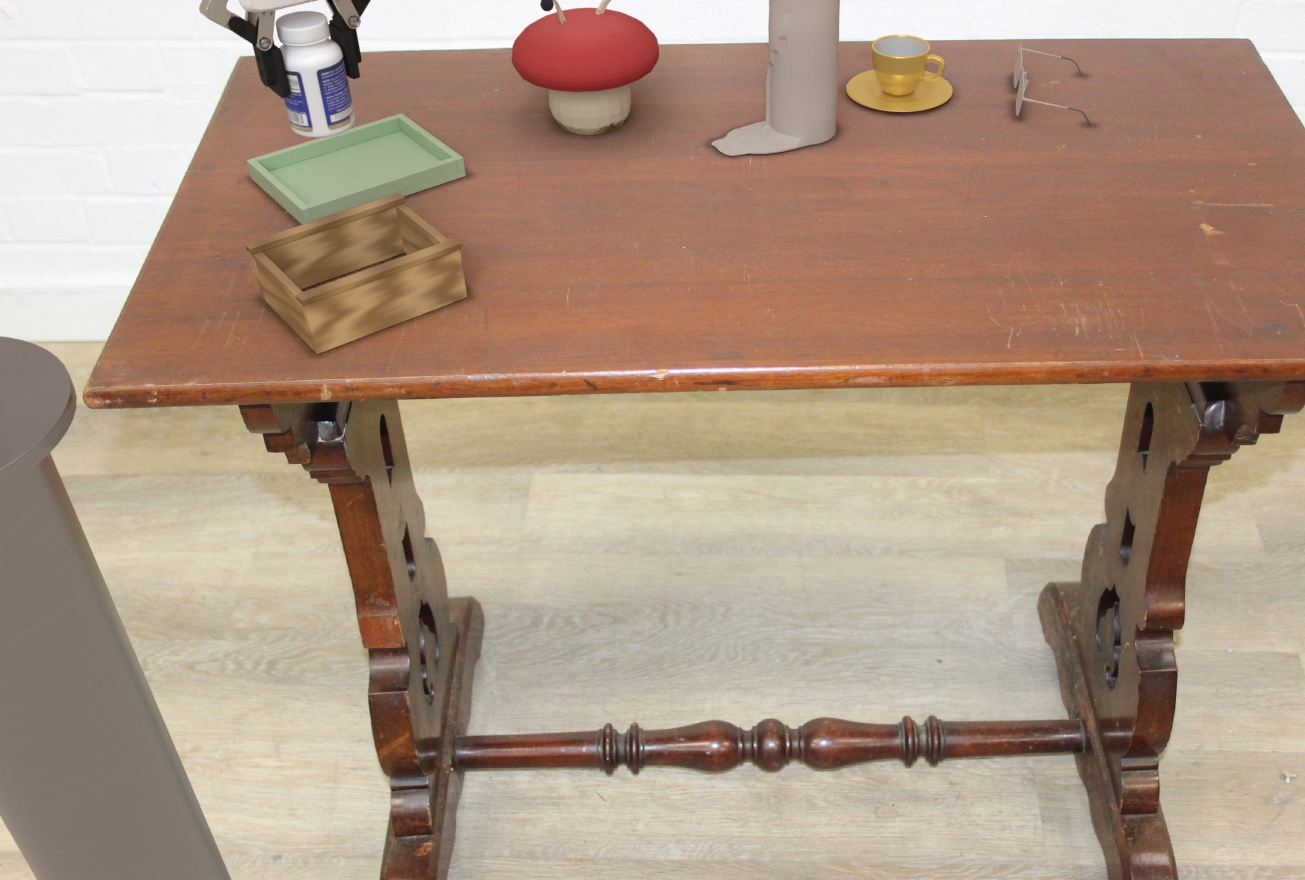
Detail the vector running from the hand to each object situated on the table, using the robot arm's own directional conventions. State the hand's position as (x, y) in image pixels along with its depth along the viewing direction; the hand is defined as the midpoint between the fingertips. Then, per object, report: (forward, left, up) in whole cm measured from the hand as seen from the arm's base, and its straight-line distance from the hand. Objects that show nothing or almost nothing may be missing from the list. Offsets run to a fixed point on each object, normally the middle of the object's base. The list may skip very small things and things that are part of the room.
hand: (314, 80), depth 114 cm
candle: (+49, +1, -20) cm, 53 cm away
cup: (+67, +1, -20) cm, 70 cm away
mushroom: (+36, +17, -20) cm, 45 cm away
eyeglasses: (+79, -11, -20) cm, 82 cm away
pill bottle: (0, 0, -4) cm, 4 cm away
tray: (+10, +21, -20) cm, 31 cm away
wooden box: (0, -1, -20) cm, 20 cm away
